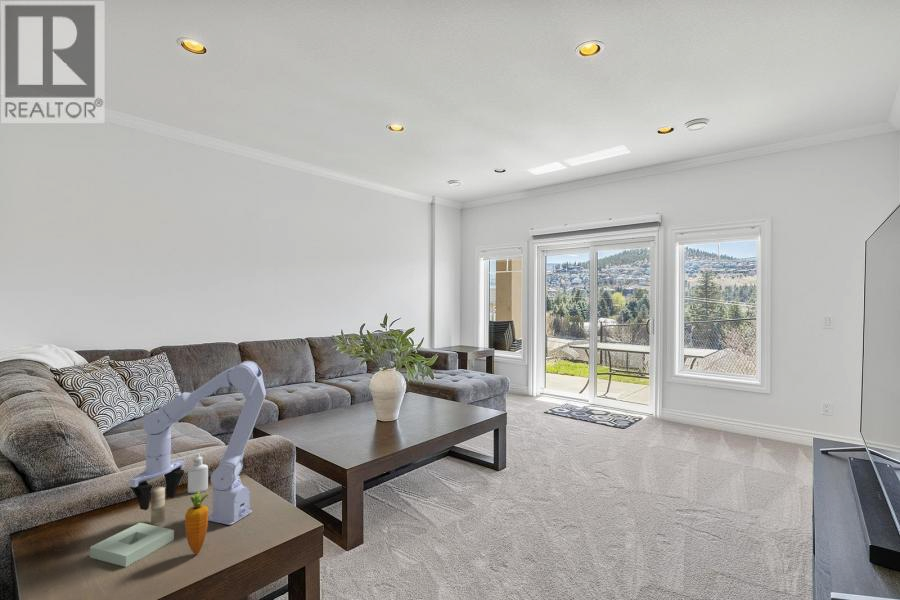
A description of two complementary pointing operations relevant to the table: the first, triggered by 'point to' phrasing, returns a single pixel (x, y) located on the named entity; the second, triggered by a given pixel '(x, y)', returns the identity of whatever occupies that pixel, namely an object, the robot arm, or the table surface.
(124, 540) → the hole block
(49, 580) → the table surface
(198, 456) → the eye dropper bottle
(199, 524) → the carrot
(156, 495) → the ash wood peg
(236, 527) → the table surface
